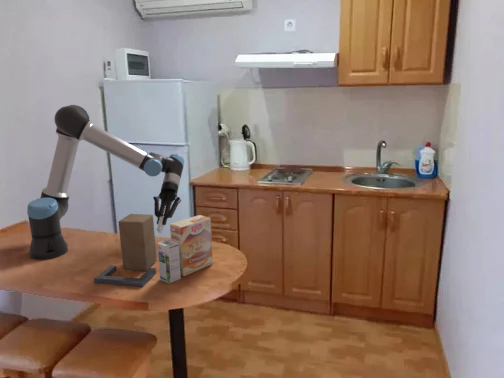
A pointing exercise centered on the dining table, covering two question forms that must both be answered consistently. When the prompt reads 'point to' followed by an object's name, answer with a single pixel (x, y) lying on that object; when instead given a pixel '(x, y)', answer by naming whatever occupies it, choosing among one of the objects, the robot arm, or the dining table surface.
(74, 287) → the dining table surface
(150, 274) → the dock
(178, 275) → the syrup box
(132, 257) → the wooden block
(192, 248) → the coffeecake box
